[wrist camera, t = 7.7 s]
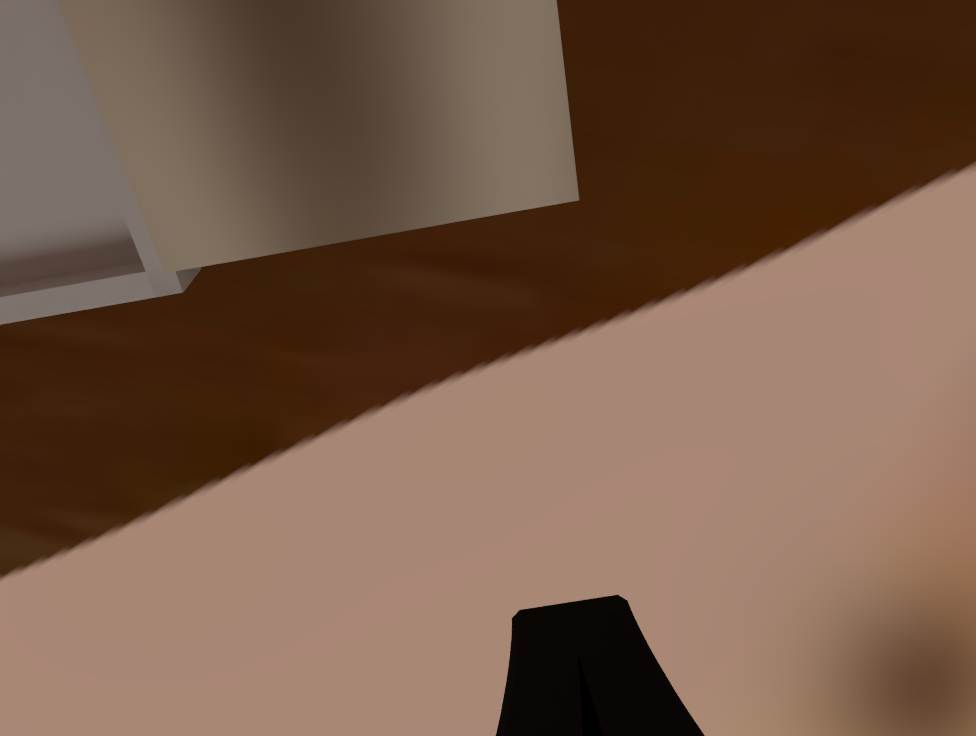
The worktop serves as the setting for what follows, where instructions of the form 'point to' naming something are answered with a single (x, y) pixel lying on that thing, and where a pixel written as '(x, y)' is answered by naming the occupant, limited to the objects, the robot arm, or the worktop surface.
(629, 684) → the robot arm
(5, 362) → the worktop surface
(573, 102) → the worktop surface
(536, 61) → the birch deck
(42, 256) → the grey tray
